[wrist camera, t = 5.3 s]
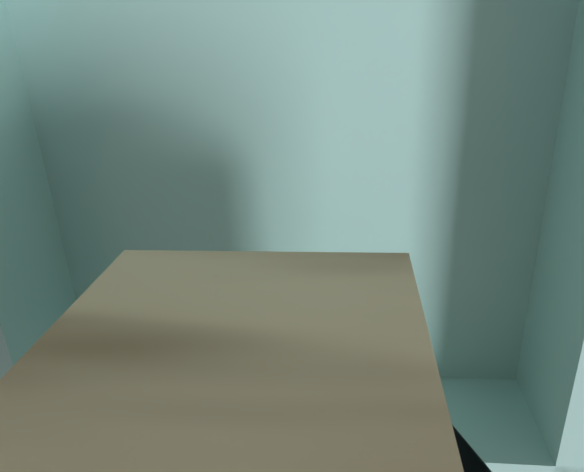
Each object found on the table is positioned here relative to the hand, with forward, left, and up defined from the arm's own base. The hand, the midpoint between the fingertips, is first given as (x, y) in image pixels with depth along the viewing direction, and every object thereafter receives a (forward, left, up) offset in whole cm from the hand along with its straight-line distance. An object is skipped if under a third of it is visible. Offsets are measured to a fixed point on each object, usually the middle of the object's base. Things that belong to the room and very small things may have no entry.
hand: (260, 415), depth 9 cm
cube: (0, 0, -1) cm, 1 cm away
